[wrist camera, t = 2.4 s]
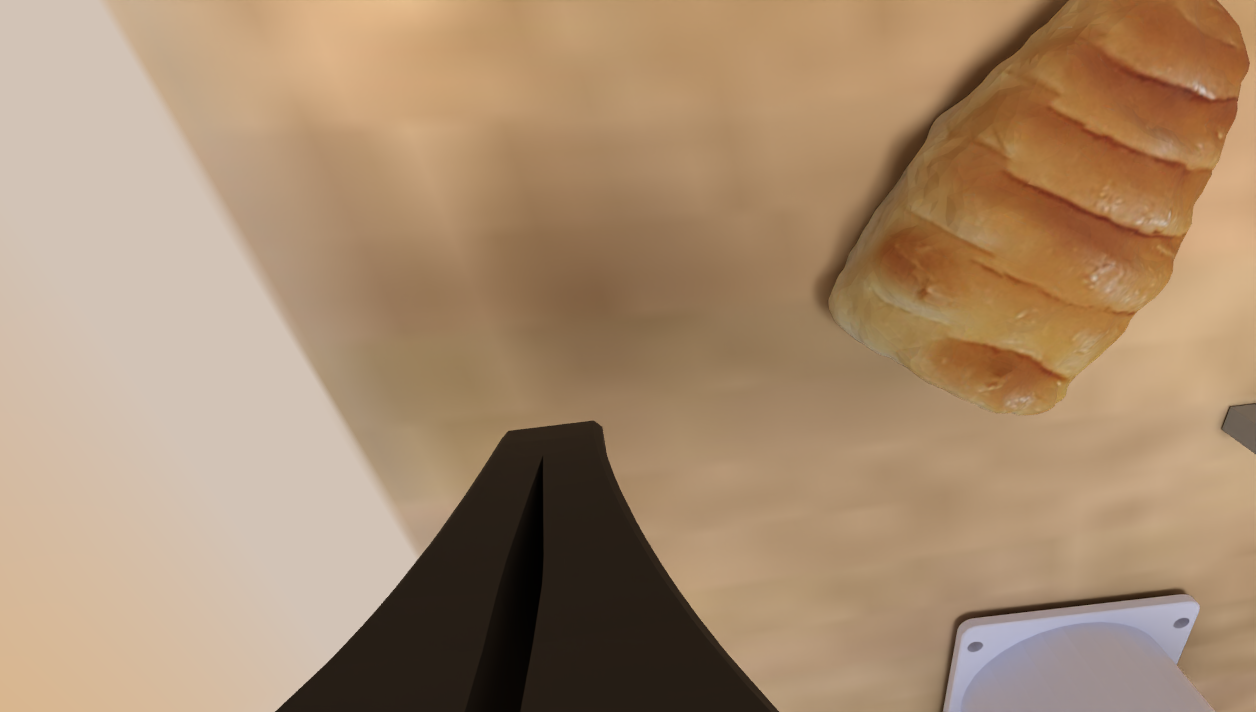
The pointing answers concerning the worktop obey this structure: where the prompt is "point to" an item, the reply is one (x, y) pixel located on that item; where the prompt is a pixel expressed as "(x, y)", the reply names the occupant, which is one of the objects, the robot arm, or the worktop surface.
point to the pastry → (1048, 202)
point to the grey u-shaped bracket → (1242, 425)
